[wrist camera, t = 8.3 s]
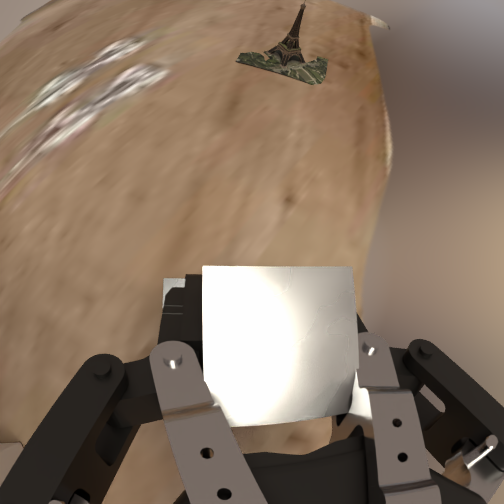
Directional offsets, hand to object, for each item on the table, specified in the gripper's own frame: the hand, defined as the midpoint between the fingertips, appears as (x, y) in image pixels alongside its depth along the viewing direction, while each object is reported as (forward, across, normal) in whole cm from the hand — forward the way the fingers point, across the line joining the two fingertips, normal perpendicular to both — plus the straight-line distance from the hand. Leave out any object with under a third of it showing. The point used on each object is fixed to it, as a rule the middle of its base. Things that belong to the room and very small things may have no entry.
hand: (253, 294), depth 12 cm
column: (+7, 0, +10) cm, 12 cm away
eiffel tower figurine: (+43, -10, -16) cm, 47 cm away
